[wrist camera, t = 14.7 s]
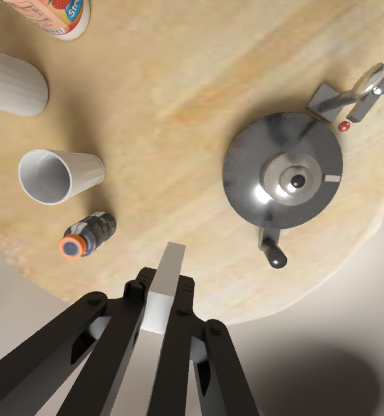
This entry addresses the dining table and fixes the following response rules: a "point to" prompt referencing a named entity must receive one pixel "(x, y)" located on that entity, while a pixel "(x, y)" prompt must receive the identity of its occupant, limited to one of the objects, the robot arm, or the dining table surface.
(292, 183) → the cover
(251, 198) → the turntable
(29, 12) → the fruit juice
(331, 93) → the indicator
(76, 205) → the dining table surface
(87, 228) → the pill bottle
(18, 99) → the mug
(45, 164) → the cup
